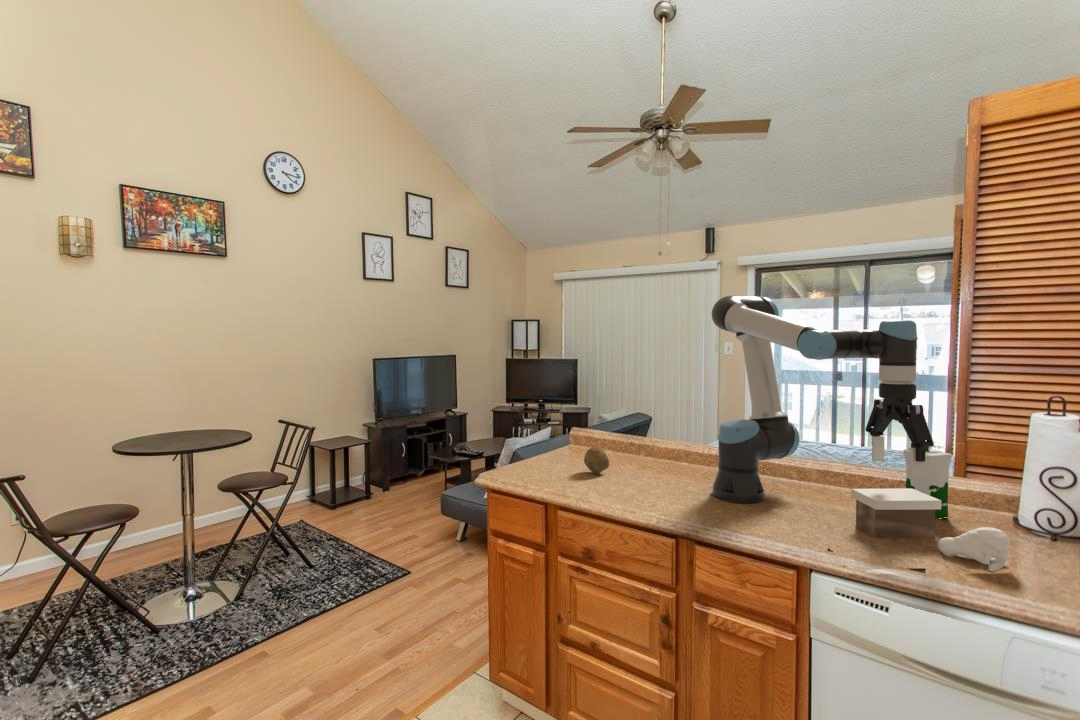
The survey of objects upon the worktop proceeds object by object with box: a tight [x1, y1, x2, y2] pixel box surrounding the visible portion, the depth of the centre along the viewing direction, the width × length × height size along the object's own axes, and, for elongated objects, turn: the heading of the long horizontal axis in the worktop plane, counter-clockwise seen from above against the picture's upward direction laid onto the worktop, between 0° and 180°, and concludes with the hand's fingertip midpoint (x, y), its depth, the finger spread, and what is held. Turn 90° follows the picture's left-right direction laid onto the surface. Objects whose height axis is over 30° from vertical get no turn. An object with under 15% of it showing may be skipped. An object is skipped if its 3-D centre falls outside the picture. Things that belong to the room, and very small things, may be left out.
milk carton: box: [903, 441, 953, 519], centre depth 136 cm, size 9×9×20 cm
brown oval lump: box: [583, 446, 610, 475], centre depth 182 cm, size 9×9×10 cm
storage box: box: [855, 499, 936, 539], centre depth 124 cm, size 8×14×8 cm, turn 89°
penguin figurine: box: [937, 526, 1011, 573], centre depth 108 cm, size 6×8×12 cm
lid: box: [850, 487, 941, 510], centre depth 124 cm, size 10×16×3 cm, turn 89°
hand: (896, 467), depth 123 cm, fingers open, 13 cm apart
